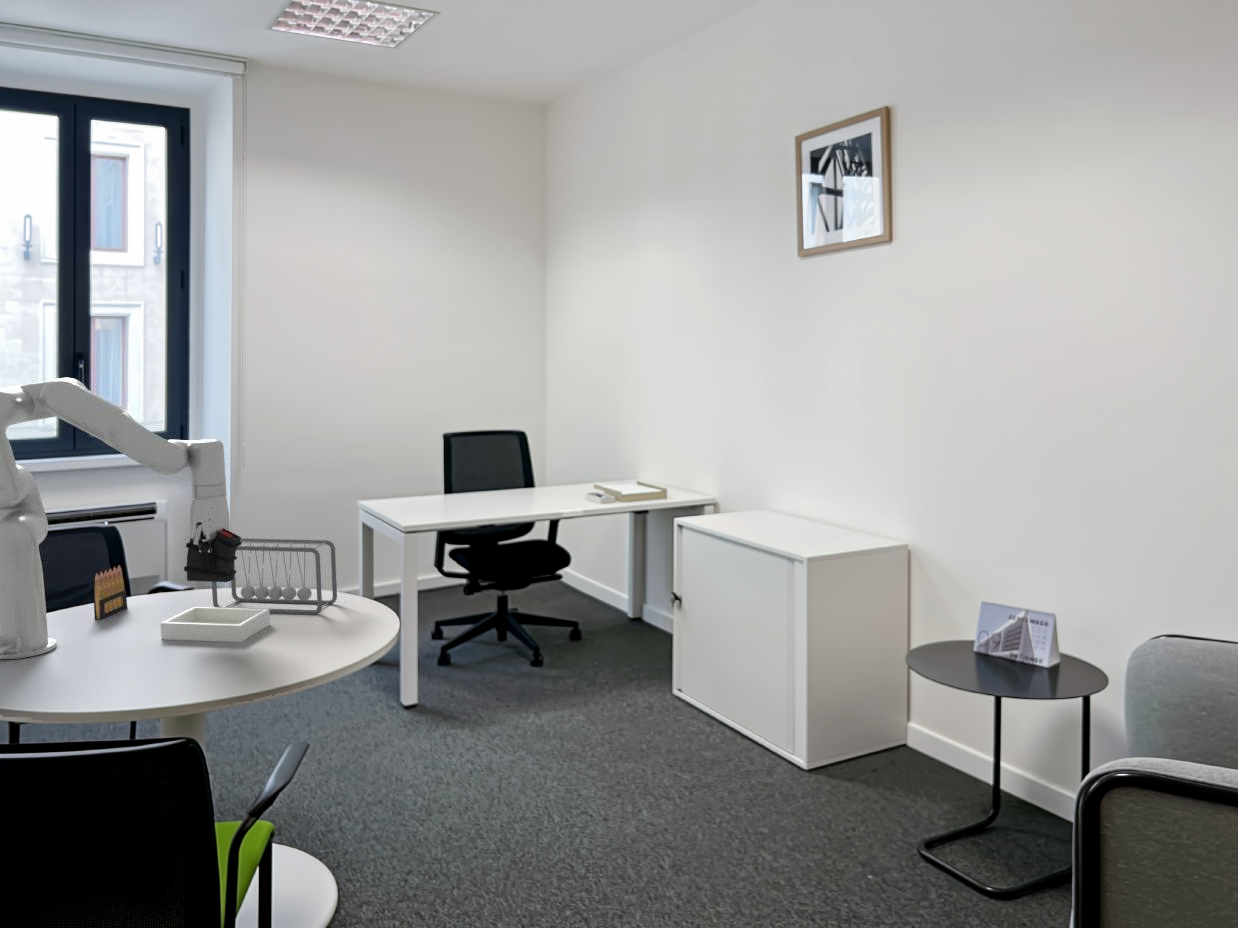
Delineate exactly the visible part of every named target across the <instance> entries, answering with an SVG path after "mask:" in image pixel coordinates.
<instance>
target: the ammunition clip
mask: <svg viewBox="0 0 1238 928" xmlns="http://www.w3.org/2000/svg"><path fill="white" fill-rule="evenodd" d="M123 577H124V575H123V571H122V567H121V565H120V564H119V565H117V568H116V566H114V567H113V569H112V568H109V569H108V570H107V569H105V571H104V573H103V571H100V573H98V572H96V573H95V577H94V600H93V611H94V620H97V621H98V620H99V621H101V620H104V619H107V618H108V617H111V616H113V615H116V614H119V613H121V612H122V611H125V610H127V609H128V600H127V590H126V589H125V581H124V578H123Z"/></svg>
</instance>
